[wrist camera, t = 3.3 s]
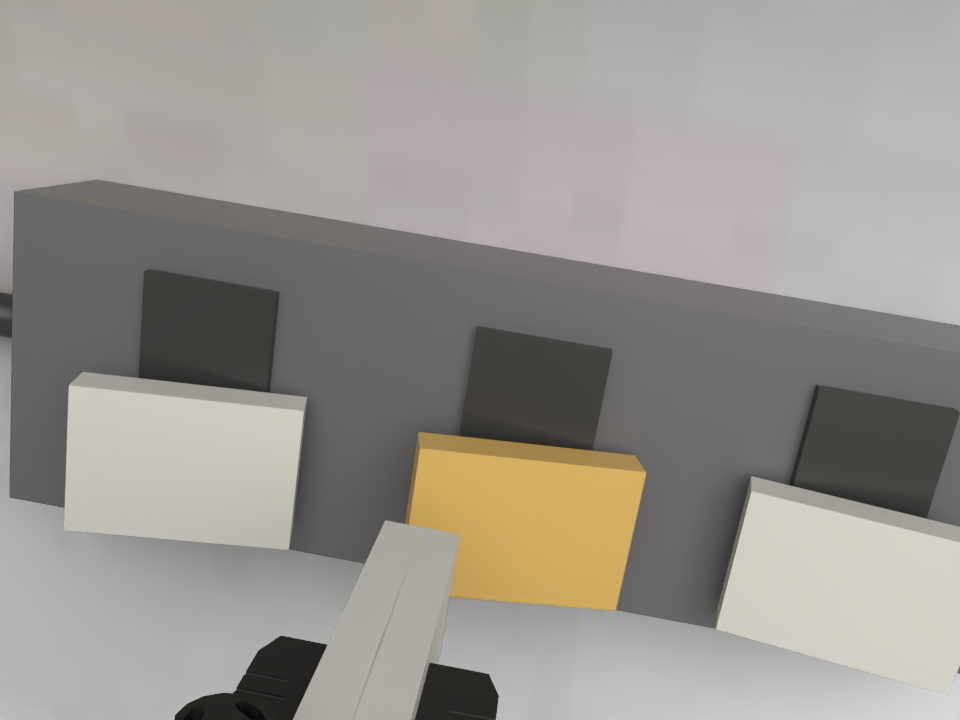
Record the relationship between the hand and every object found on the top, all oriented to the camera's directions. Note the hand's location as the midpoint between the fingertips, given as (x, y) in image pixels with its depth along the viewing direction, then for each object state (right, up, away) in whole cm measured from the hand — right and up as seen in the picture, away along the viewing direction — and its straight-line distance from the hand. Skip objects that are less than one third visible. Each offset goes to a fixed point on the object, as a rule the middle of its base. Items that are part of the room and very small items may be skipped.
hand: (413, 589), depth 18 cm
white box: (-6, +2, +4) cm, 8 cm away
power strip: (0, +4, +8) cm, 9 cm away
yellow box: (+2, +1, +4) cm, 5 cm away
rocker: (+10, 0, +4) cm, 11 cm away
